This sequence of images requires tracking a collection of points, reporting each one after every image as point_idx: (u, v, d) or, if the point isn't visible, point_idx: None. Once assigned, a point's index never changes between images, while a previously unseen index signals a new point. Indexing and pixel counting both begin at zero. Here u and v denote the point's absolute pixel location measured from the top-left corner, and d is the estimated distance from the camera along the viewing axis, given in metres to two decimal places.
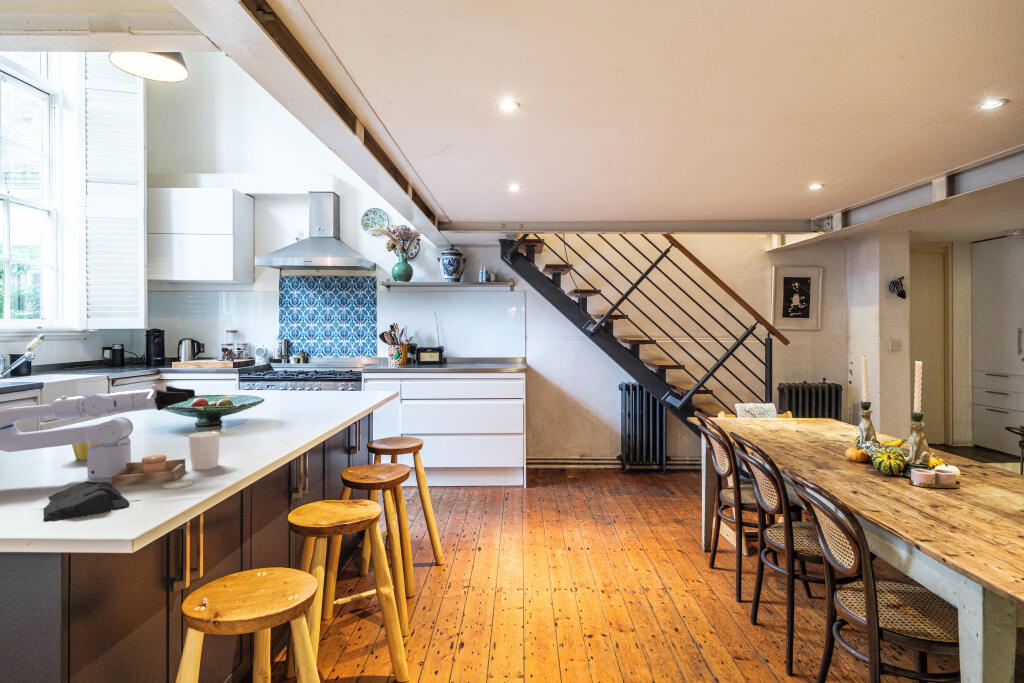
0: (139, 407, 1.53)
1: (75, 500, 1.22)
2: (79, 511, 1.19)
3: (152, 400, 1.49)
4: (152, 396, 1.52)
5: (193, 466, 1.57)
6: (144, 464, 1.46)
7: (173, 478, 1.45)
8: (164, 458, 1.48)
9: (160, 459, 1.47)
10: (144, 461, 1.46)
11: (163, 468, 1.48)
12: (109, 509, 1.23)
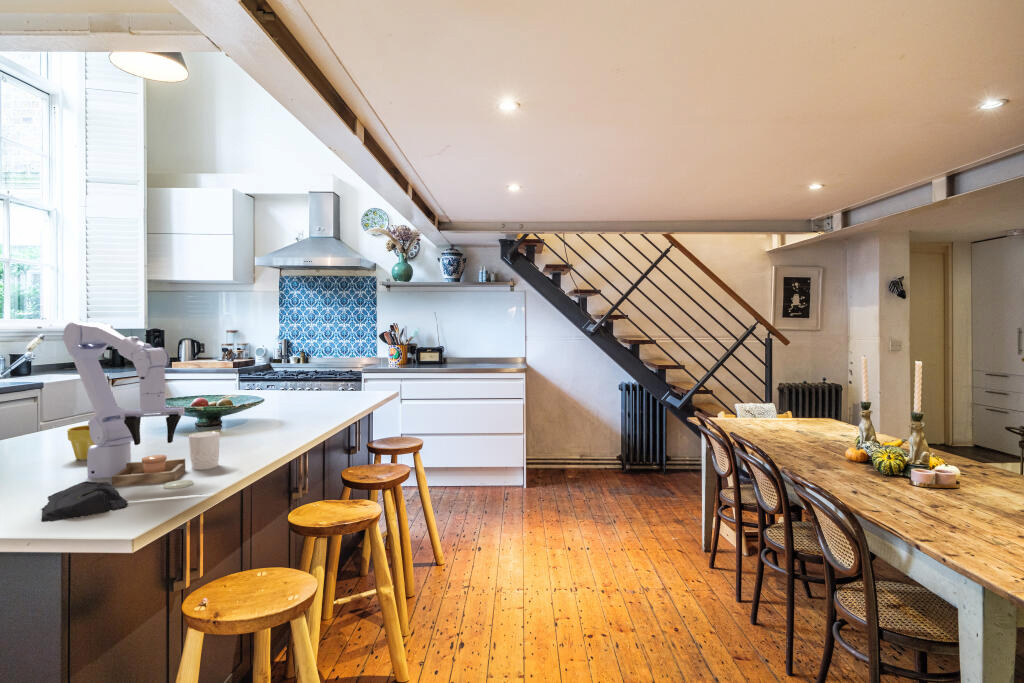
0: None
1: (73, 500, 1.22)
2: (76, 511, 1.19)
3: None
4: (133, 413, 1.45)
5: (193, 466, 1.57)
6: (144, 464, 1.46)
7: (173, 478, 1.45)
8: (164, 458, 1.48)
9: (160, 459, 1.47)
10: (144, 461, 1.46)
11: (163, 468, 1.48)
12: (107, 509, 1.23)
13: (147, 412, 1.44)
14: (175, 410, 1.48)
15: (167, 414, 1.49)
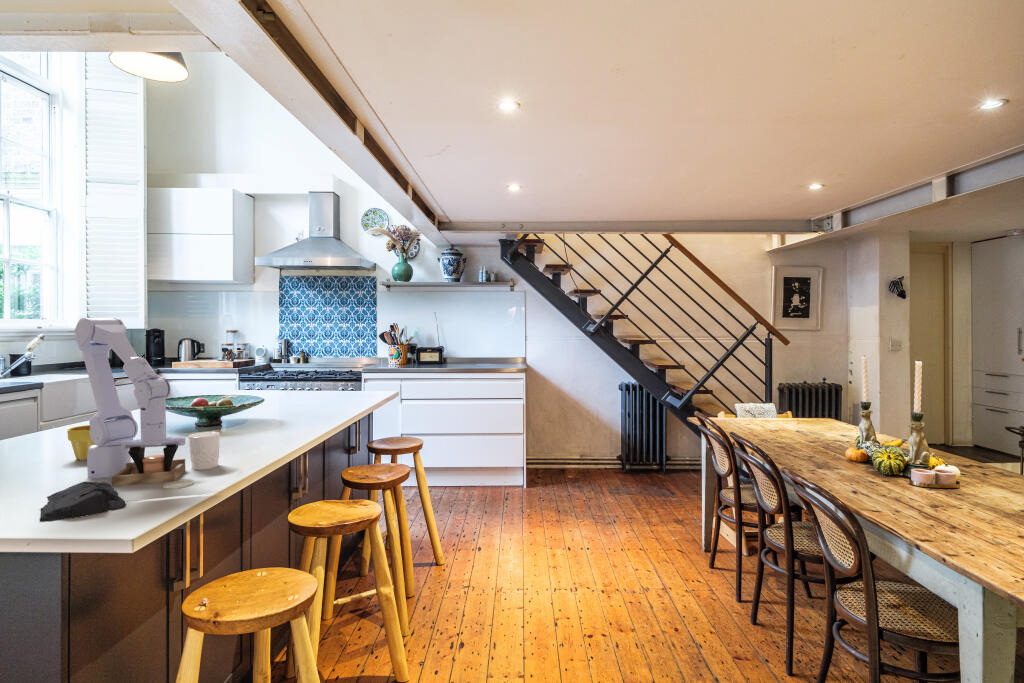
0: None
1: (71, 501, 1.22)
2: (75, 511, 1.19)
3: None
4: (134, 444, 1.46)
5: (193, 466, 1.57)
6: (144, 464, 1.46)
7: (173, 478, 1.45)
8: (164, 458, 1.48)
9: (160, 459, 1.47)
10: (144, 461, 1.46)
11: (163, 468, 1.48)
12: (105, 510, 1.23)
13: (148, 443, 1.44)
14: (176, 440, 1.49)
15: (168, 444, 1.49)
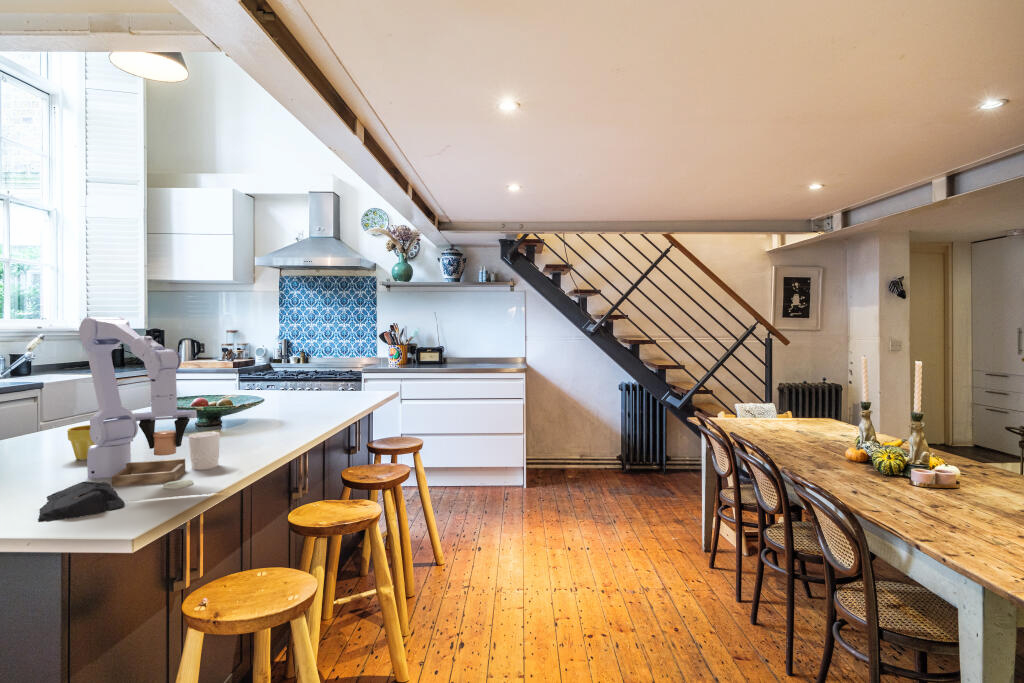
0: None
1: (70, 500, 1.22)
2: (73, 511, 1.19)
3: None
4: (144, 416, 1.42)
5: (193, 466, 1.57)
6: (155, 439, 1.43)
7: (173, 478, 1.45)
8: None
9: (172, 434, 1.44)
10: (156, 436, 1.42)
11: (174, 444, 1.45)
12: (104, 510, 1.23)
13: (159, 415, 1.41)
14: (187, 413, 1.45)
15: (179, 417, 1.45)
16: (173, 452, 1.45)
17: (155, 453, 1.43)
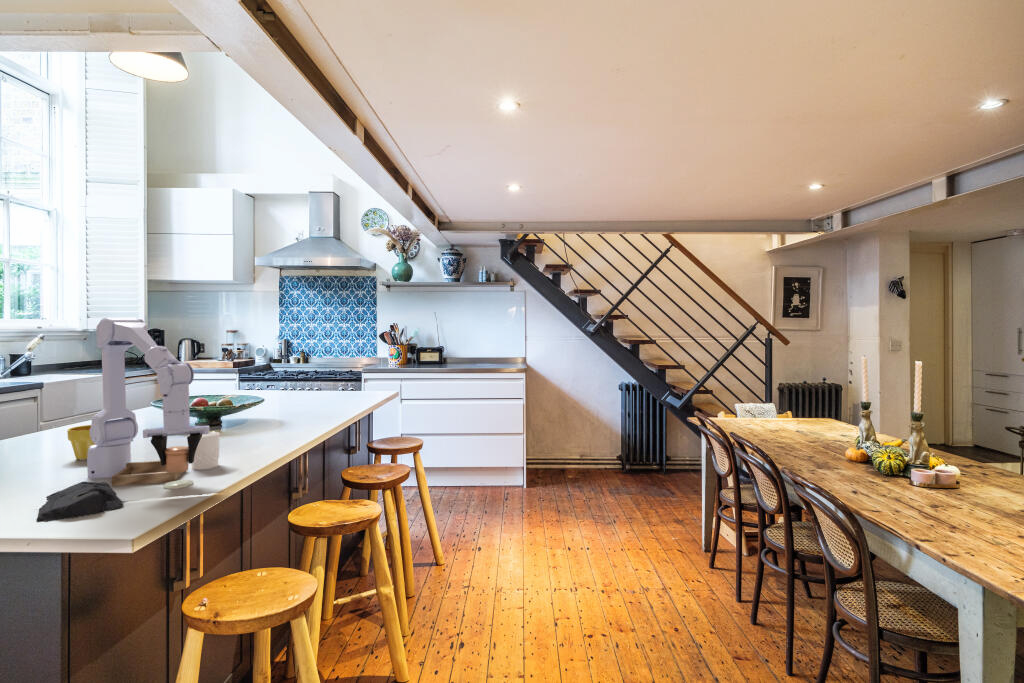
0: None
1: (69, 501, 1.22)
2: (71, 511, 1.19)
3: None
4: (156, 432, 1.38)
5: (193, 466, 1.57)
6: (168, 456, 1.39)
7: (173, 478, 1.45)
8: None
9: (185, 451, 1.40)
10: (168, 452, 1.38)
11: (187, 460, 1.41)
12: (102, 510, 1.22)
13: (171, 431, 1.37)
14: (200, 429, 1.41)
15: (191, 433, 1.42)
16: (185, 469, 1.41)
17: (167, 470, 1.39)
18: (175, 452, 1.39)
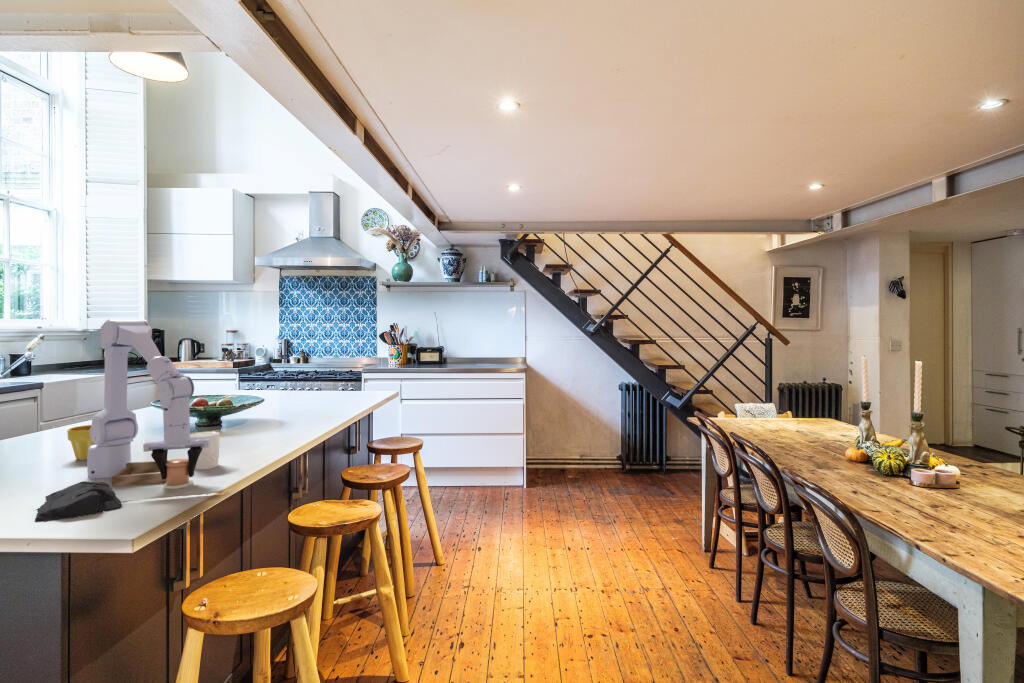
0: None
1: (67, 501, 1.22)
2: (69, 512, 1.19)
3: None
4: (156, 446, 1.39)
5: None
6: (168, 468, 1.39)
7: None
8: None
9: (186, 463, 1.40)
10: (169, 465, 1.39)
11: (187, 473, 1.41)
12: (100, 510, 1.22)
13: (172, 445, 1.37)
14: (200, 442, 1.41)
15: (192, 446, 1.42)
16: (186, 481, 1.41)
17: (168, 483, 1.39)
18: (176, 464, 1.39)
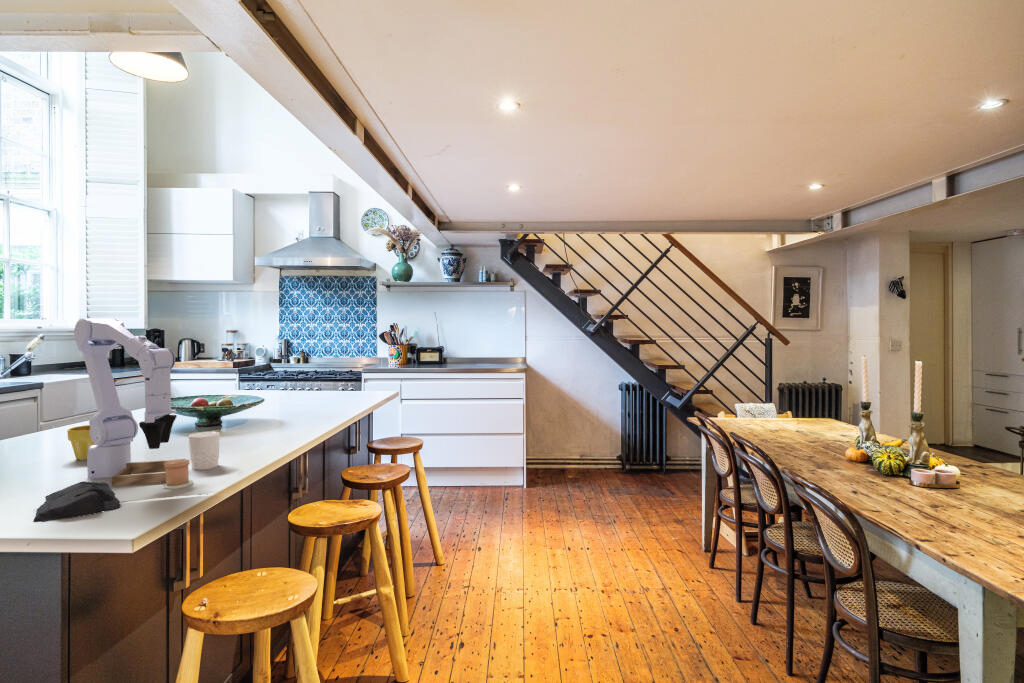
0: (147, 400, 1.43)
1: (66, 501, 1.22)
2: (68, 512, 1.19)
3: (150, 421, 1.39)
4: (158, 416, 1.42)
5: (193, 466, 1.57)
6: (167, 469, 1.39)
7: None
8: (188, 462, 1.41)
9: (184, 463, 1.40)
10: (167, 466, 1.39)
11: (187, 473, 1.41)
12: (99, 510, 1.22)
13: (175, 411, 1.46)
14: None
15: (164, 414, 1.49)
16: (186, 482, 1.41)
17: (167, 484, 1.39)
18: (174, 465, 1.39)
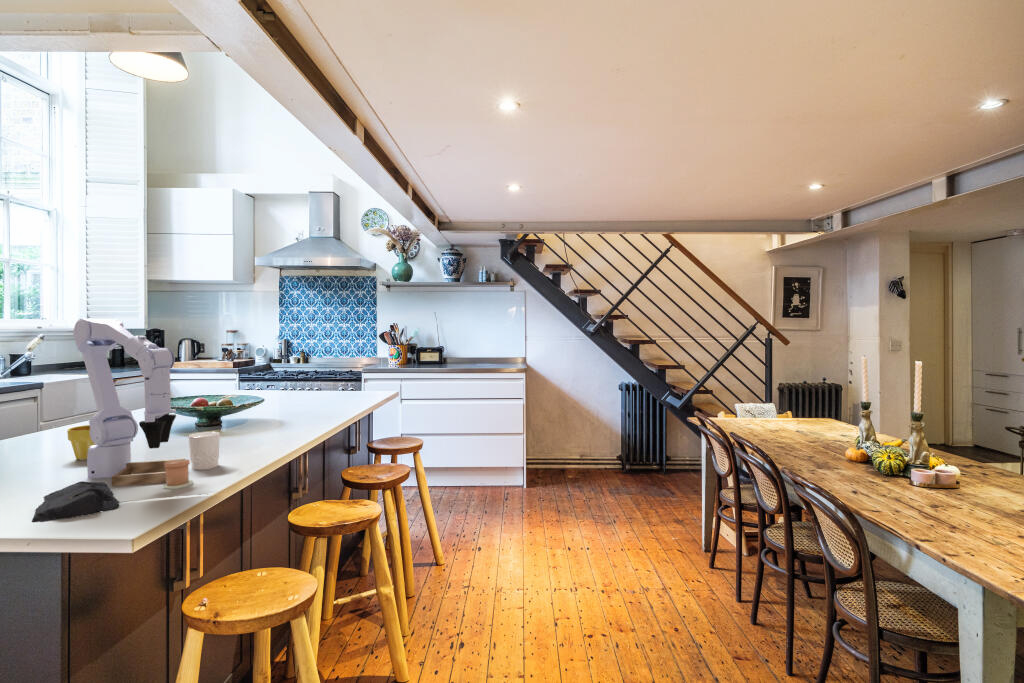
0: (147, 399, 1.43)
1: (65, 501, 1.22)
2: (67, 512, 1.19)
3: (150, 420, 1.39)
4: (157, 415, 1.42)
5: (193, 466, 1.57)
6: (167, 469, 1.39)
7: None
8: (188, 462, 1.41)
9: (184, 463, 1.40)
10: (167, 466, 1.39)
11: (187, 473, 1.41)
12: (98, 510, 1.22)
13: (175, 410, 1.47)
14: None
15: None
16: (186, 482, 1.41)
17: (167, 484, 1.39)
18: (174, 465, 1.39)
